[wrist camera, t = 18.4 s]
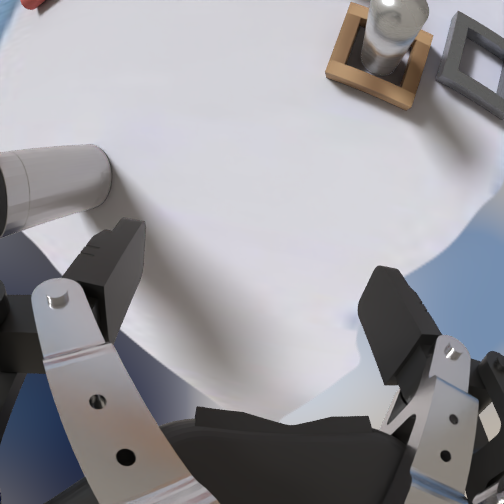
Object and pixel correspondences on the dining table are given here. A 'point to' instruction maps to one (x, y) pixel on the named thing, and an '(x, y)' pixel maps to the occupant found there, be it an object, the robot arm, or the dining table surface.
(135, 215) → the dining table surface
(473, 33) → the steel bore block
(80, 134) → the dining table surface
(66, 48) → the dining table surface
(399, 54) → the steel axle
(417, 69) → the walnut socket block
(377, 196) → the dining table surface
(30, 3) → the blood vessel
